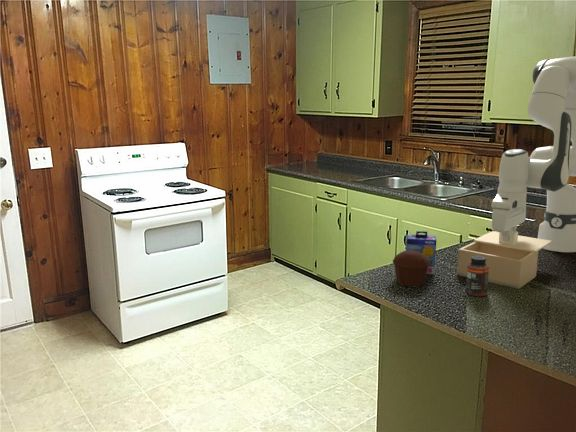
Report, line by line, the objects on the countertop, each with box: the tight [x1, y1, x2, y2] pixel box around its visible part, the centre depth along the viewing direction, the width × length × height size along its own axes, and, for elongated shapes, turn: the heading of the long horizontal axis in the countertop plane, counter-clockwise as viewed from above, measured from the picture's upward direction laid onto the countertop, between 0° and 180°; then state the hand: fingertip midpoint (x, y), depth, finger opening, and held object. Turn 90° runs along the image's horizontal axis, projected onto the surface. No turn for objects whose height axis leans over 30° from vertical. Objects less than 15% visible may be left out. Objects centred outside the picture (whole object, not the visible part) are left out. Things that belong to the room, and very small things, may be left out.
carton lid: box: [473, 230, 552, 253], centre depth 175 cm, size 16×20×5 cm
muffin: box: [392, 250, 430, 287], centre depth 163 cm, size 12×11×10 cm
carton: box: [456, 241, 539, 290], centre depth 168 cm, size 15×20×9 cm
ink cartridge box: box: [405, 230, 437, 275], centre depth 173 cm, size 10×6×14 cm, turn 79°
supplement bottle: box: [465, 256, 489, 297], centre depth 152 cm, size 6×6×11 cm
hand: (508, 239), depth 172 cm, fingers closed on carton lid, 3 cm apart
